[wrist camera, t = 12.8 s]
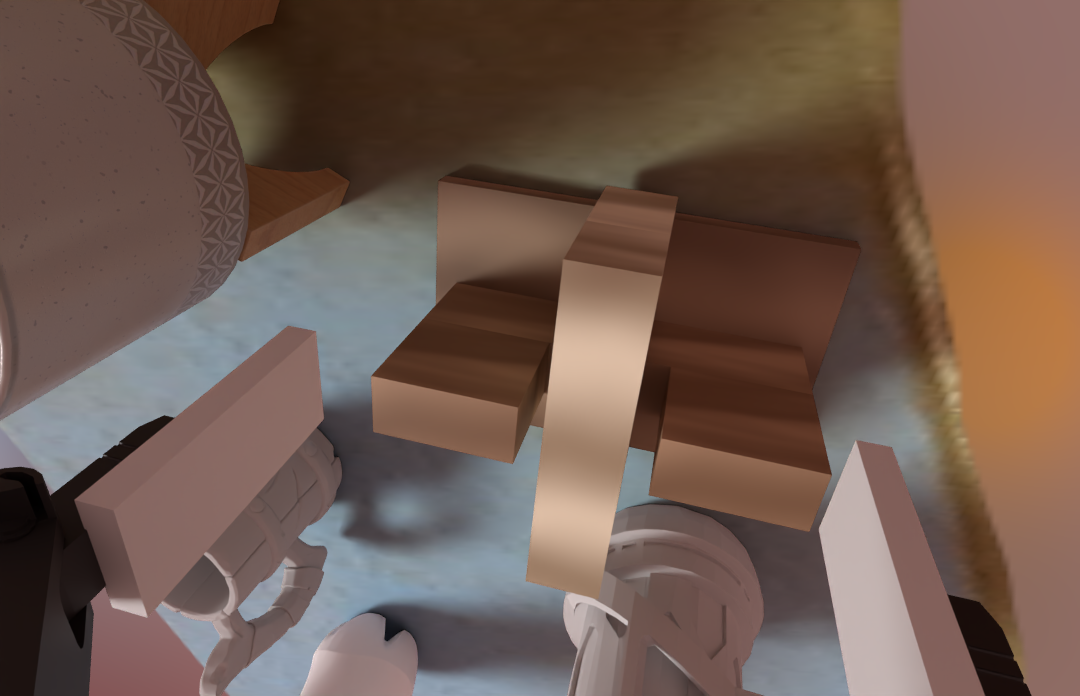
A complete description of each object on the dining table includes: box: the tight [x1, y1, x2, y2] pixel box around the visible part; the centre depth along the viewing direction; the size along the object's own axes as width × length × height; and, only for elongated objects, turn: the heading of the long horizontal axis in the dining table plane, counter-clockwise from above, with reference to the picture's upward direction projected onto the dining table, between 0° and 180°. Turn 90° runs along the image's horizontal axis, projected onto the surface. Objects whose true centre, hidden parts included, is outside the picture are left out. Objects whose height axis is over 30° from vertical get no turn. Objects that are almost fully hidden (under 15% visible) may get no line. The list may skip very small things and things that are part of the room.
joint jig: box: [371, 176, 861, 532], centre depth 28 cm, size 12×18×10 cm, turn 85°
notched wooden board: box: [526, 186, 678, 599], centre depth 27 cm, size 14×3×9 cm, turn 175°
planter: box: [0, 0, 350, 420], centre depth 24 cm, size 13×13×18 cm
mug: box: [161, 428, 342, 696], centre depth 37 cm, size 8×12×12 cm, turn 16°
